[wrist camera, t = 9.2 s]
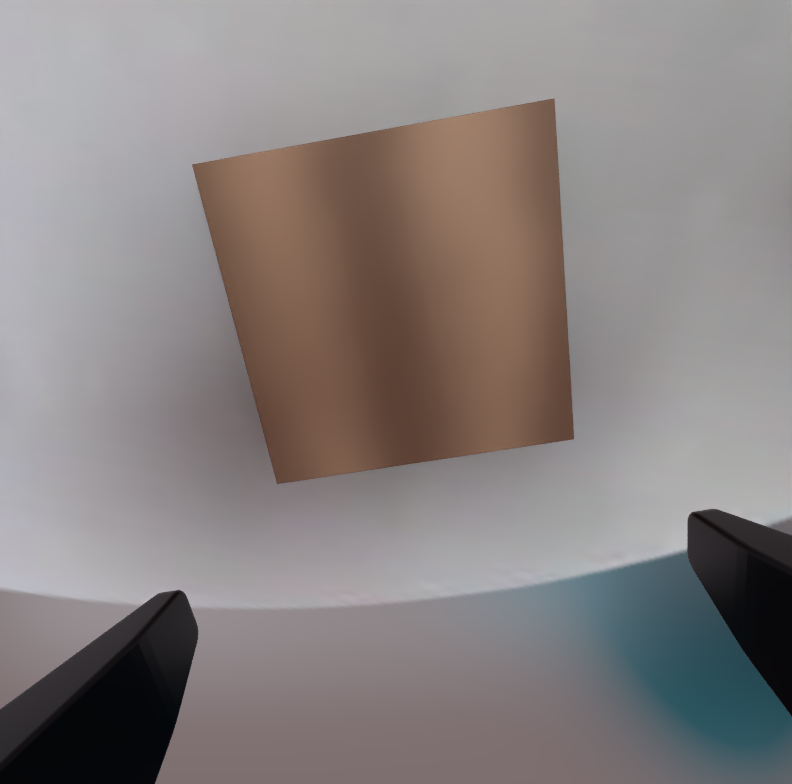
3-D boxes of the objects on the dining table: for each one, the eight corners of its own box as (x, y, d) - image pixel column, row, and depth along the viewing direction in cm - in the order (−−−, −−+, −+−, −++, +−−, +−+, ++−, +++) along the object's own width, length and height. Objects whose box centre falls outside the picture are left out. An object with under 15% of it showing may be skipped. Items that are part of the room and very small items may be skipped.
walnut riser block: (529, 119, 19) (554, 98, 16) (550, 412, 22) (573, 439, 19) (222, 175, 19) (192, 164, 16) (291, 452, 23) (277, 483, 20)
